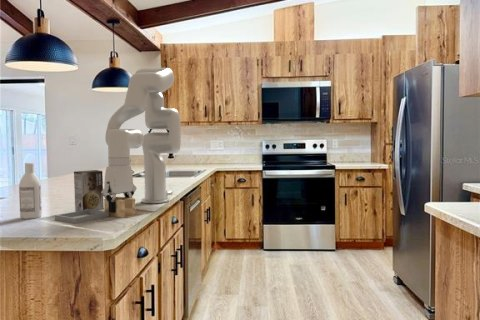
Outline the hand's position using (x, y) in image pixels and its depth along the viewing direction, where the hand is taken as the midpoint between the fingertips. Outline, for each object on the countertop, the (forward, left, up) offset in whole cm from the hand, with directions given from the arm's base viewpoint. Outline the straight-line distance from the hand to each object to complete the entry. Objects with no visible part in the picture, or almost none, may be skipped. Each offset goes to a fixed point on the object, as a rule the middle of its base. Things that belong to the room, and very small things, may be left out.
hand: (120, 210), depth 142 cm
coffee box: (-1, -19, -2) cm, 19 cm away
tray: (+11, -7, -2) cm, 13 cm away
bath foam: (+18, -27, -2) cm, 33 cm away
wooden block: (0, 0, -2) cm, 2 cm away
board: (-4, +1, -2) cm, 5 cm away
